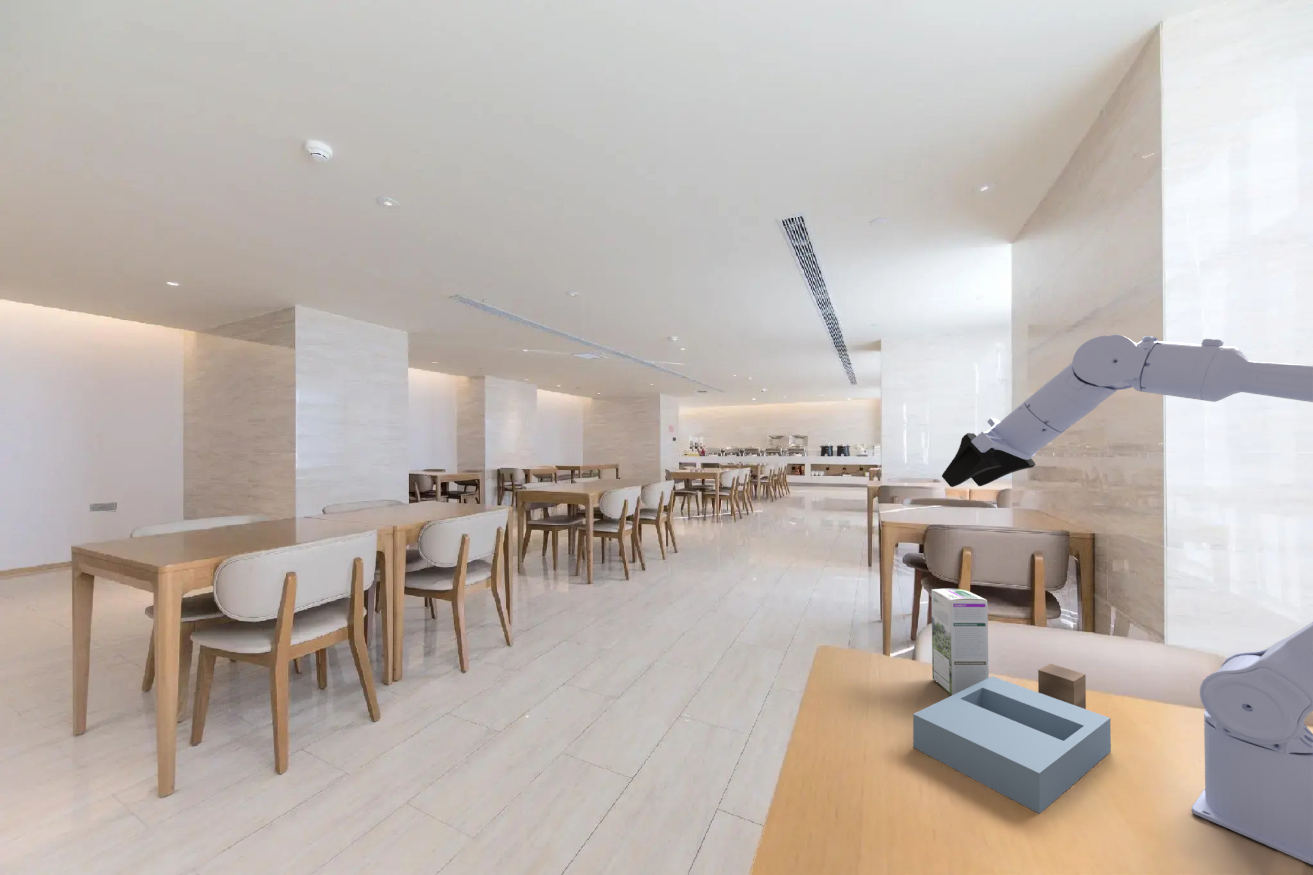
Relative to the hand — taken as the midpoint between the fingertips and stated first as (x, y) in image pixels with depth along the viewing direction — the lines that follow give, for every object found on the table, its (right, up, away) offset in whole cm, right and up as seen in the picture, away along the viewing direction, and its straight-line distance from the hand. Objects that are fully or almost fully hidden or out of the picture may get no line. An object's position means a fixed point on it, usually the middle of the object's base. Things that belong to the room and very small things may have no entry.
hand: (961, 481), depth 73 cm
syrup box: (+2, -32, +3) cm, 32 cm away
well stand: (-2, -32, -12) cm, 34 cm away
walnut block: (+11, -32, -4) cm, 34 cm away
